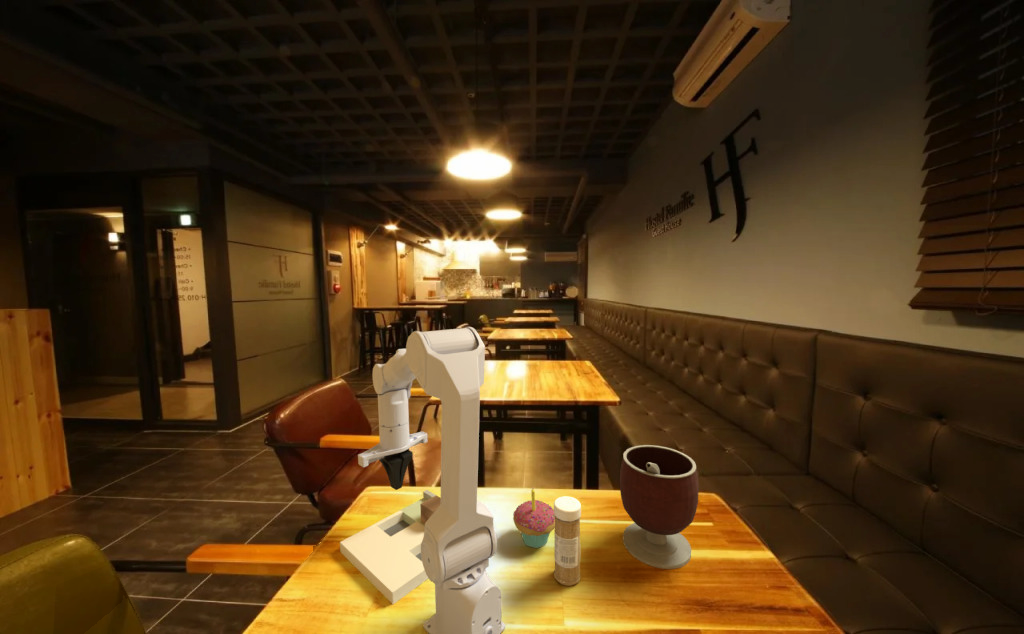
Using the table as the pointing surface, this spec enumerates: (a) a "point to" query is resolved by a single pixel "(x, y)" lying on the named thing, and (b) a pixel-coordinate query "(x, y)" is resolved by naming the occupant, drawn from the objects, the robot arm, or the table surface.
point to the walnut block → (429, 508)
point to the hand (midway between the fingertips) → (396, 487)
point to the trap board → (391, 551)
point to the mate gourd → (658, 504)
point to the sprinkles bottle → (567, 540)
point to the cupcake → (534, 521)
